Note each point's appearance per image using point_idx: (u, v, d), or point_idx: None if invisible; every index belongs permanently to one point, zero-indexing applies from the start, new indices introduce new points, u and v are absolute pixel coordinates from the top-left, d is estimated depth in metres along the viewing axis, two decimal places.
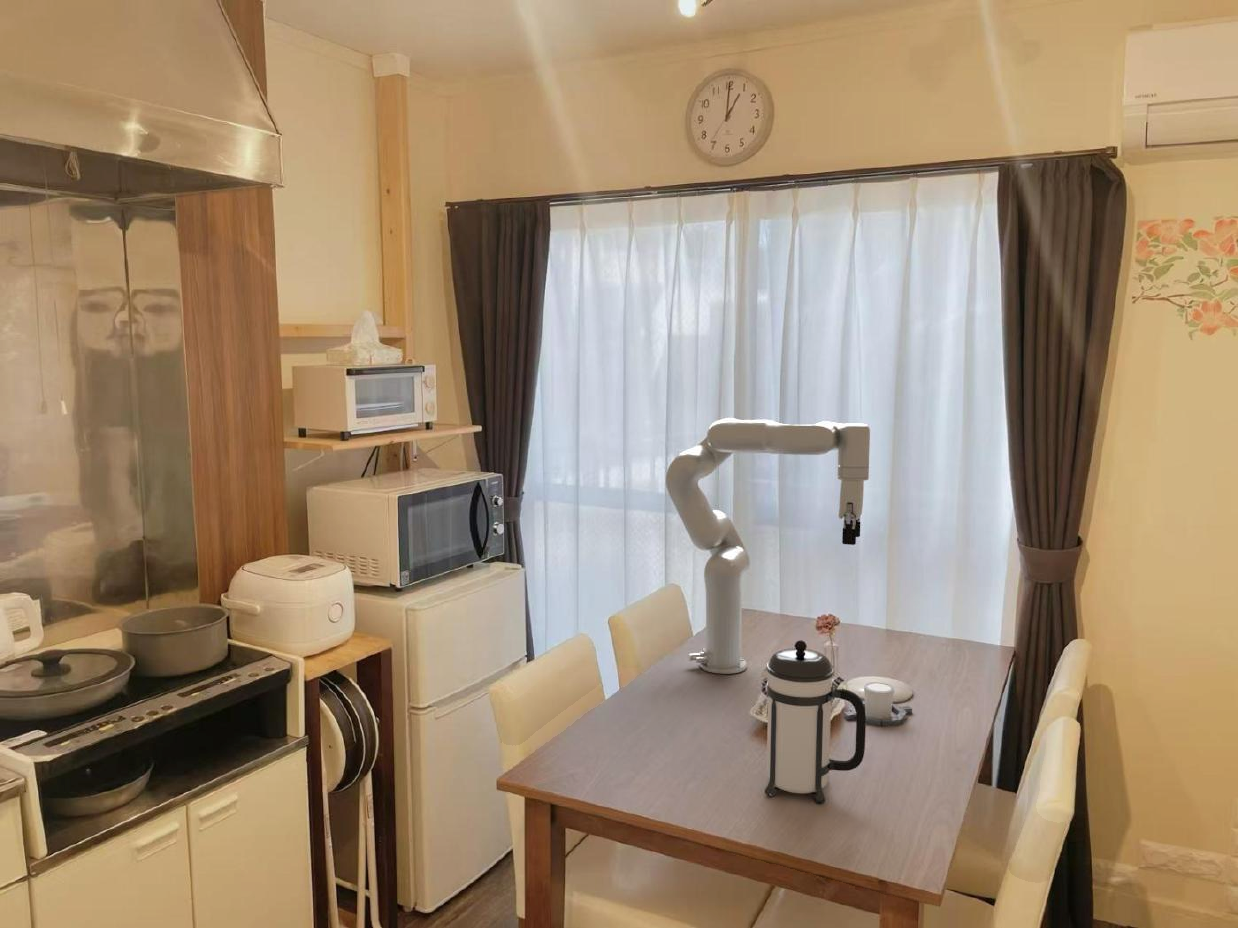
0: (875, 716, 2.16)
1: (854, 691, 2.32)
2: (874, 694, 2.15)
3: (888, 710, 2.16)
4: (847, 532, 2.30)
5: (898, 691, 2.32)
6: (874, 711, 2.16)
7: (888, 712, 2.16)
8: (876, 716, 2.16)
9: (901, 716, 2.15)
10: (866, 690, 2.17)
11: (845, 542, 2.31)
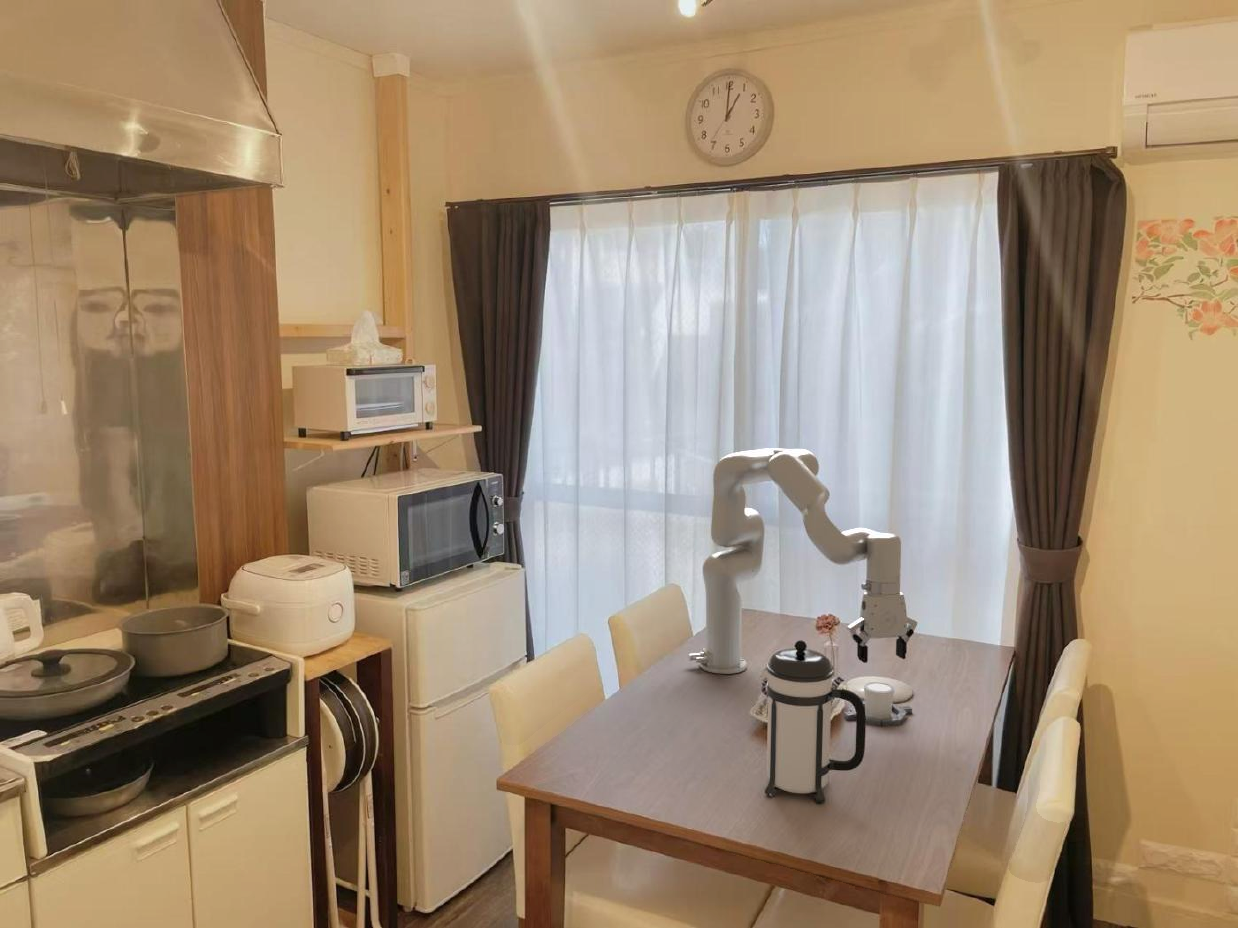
0: (875, 716, 2.16)
1: (854, 691, 2.32)
2: (874, 694, 2.15)
3: (888, 710, 2.16)
4: None
5: (898, 691, 2.32)
6: (874, 711, 2.16)
7: (888, 712, 2.16)
8: (876, 716, 2.16)
9: (901, 716, 2.15)
10: (866, 690, 2.17)
11: None
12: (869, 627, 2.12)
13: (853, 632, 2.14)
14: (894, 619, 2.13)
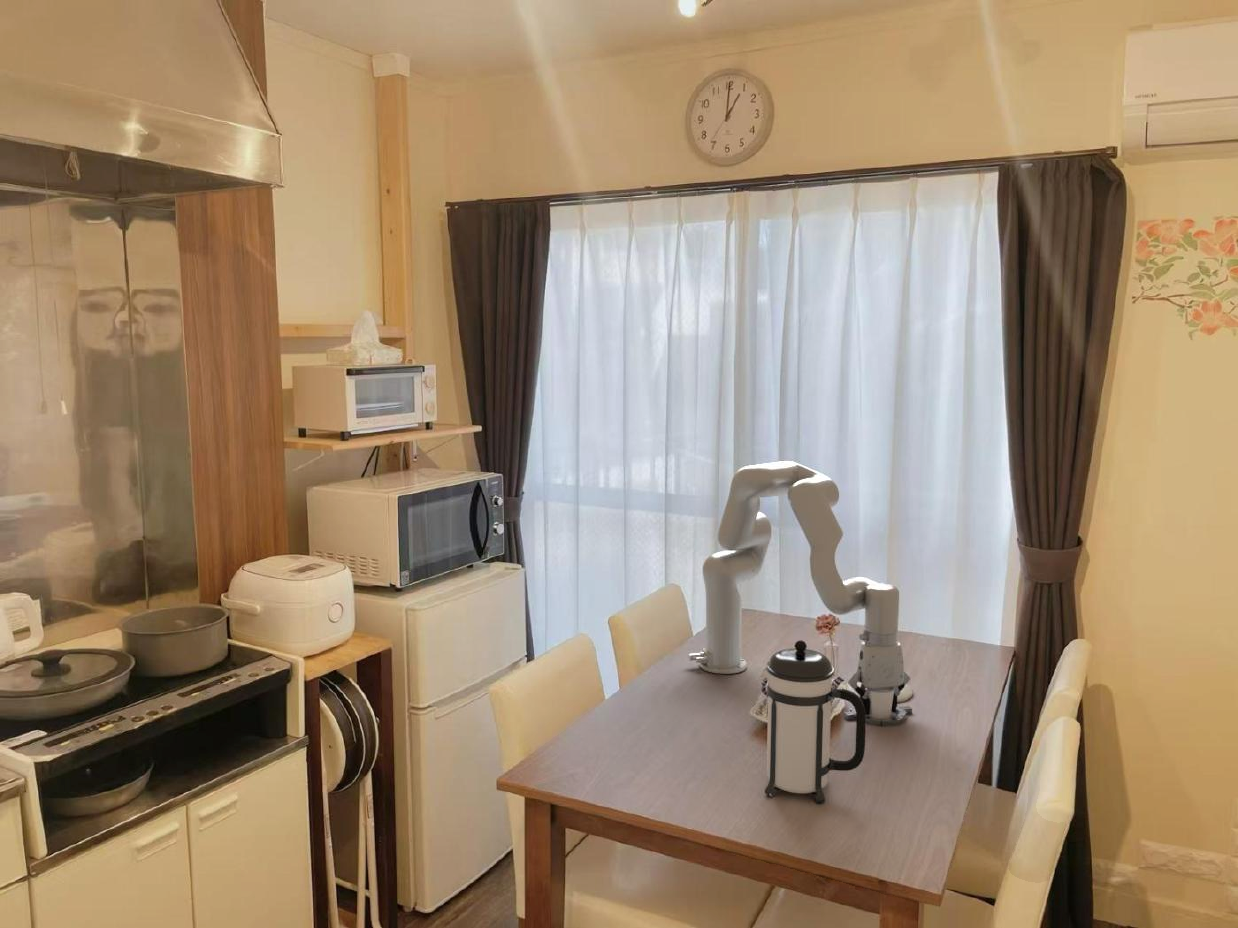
0: (875, 716, 2.16)
1: (854, 691, 2.32)
2: (874, 694, 2.15)
3: (888, 710, 2.16)
4: None
5: None
6: (874, 711, 2.16)
7: (888, 712, 2.16)
8: (876, 716, 2.16)
9: (901, 716, 2.15)
10: None
11: None
12: (866, 677, 2.14)
13: (855, 686, 2.16)
14: (891, 670, 2.15)
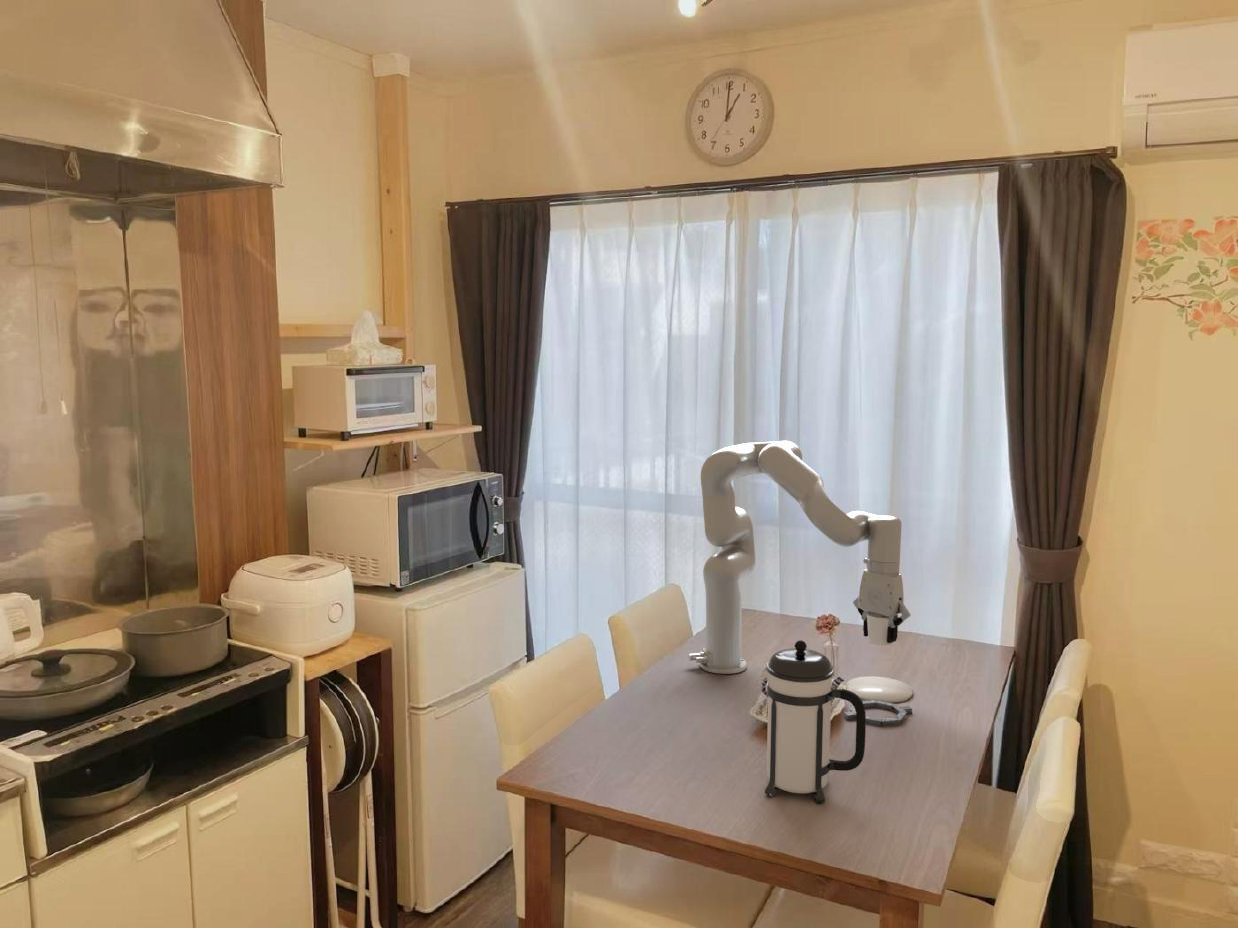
0: (869, 638, 2.28)
1: (854, 691, 2.32)
2: (867, 616, 2.27)
3: (879, 636, 2.25)
4: (895, 630, 2.24)
5: (898, 691, 2.32)
6: (868, 633, 2.28)
7: (879, 638, 2.25)
8: (869, 638, 2.28)
9: (901, 716, 2.15)
10: None
11: (890, 641, 2.25)
12: (859, 598, 2.29)
13: (857, 605, 2.31)
14: (880, 598, 2.24)
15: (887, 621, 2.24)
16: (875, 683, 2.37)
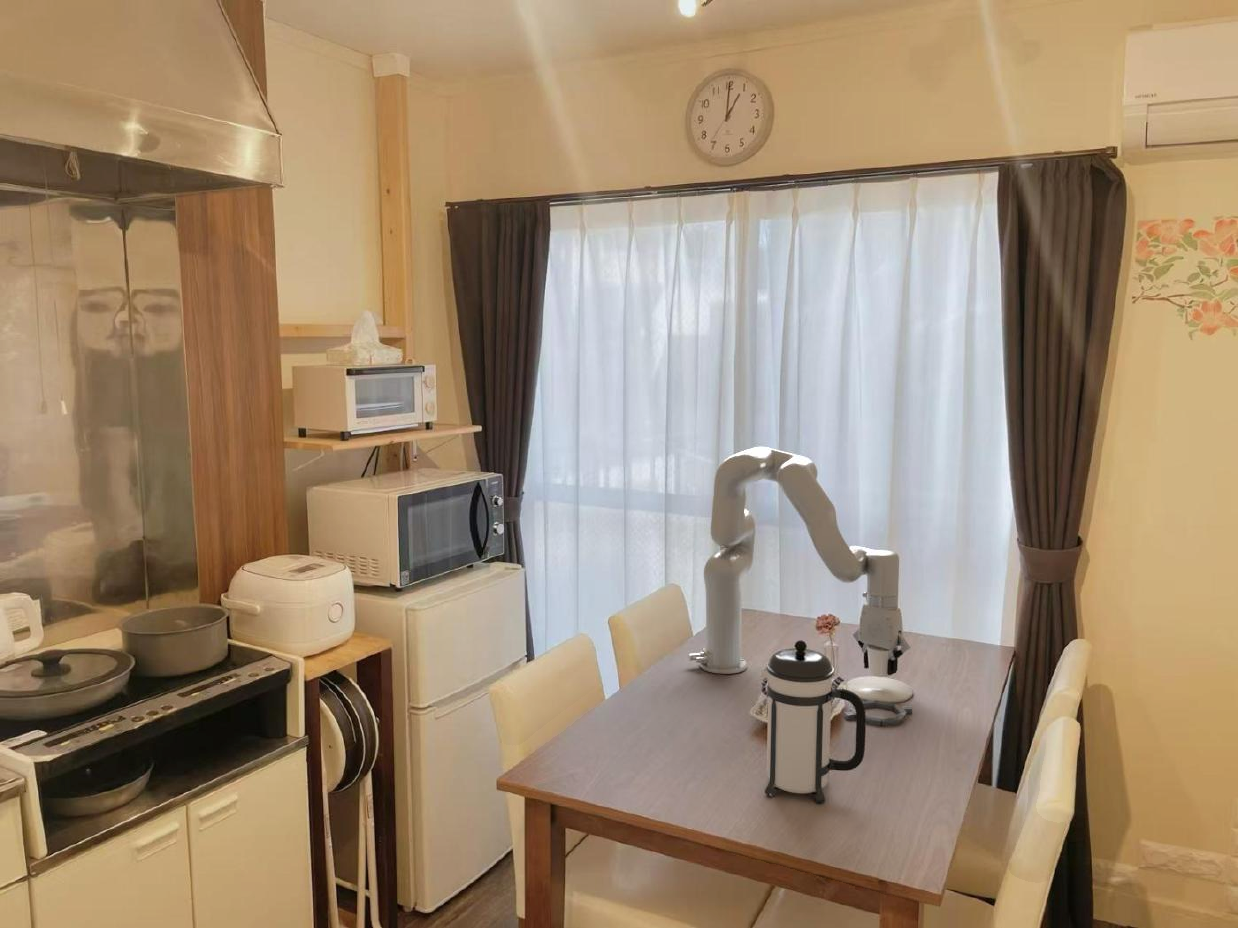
0: (869, 670, 2.33)
1: (854, 691, 2.32)
2: (868, 649, 2.33)
3: (879, 668, 2.31)
4: (895, 662, 2.30)
5: (898, 691, 2.32)
6: (869, 665, 2.33)
7: (880, 670, 2.31)
8: (870, 670, 2.33)
9: (901, 716, 2.15)
10: None
11: (891, 673, 2.30)
12: (859, 631, 2.34)
13: (857, 638, 2.37)
14: (880, 631, 2.29)
15: (887, 653, 2.30)
16: (875, 683, 2.37)
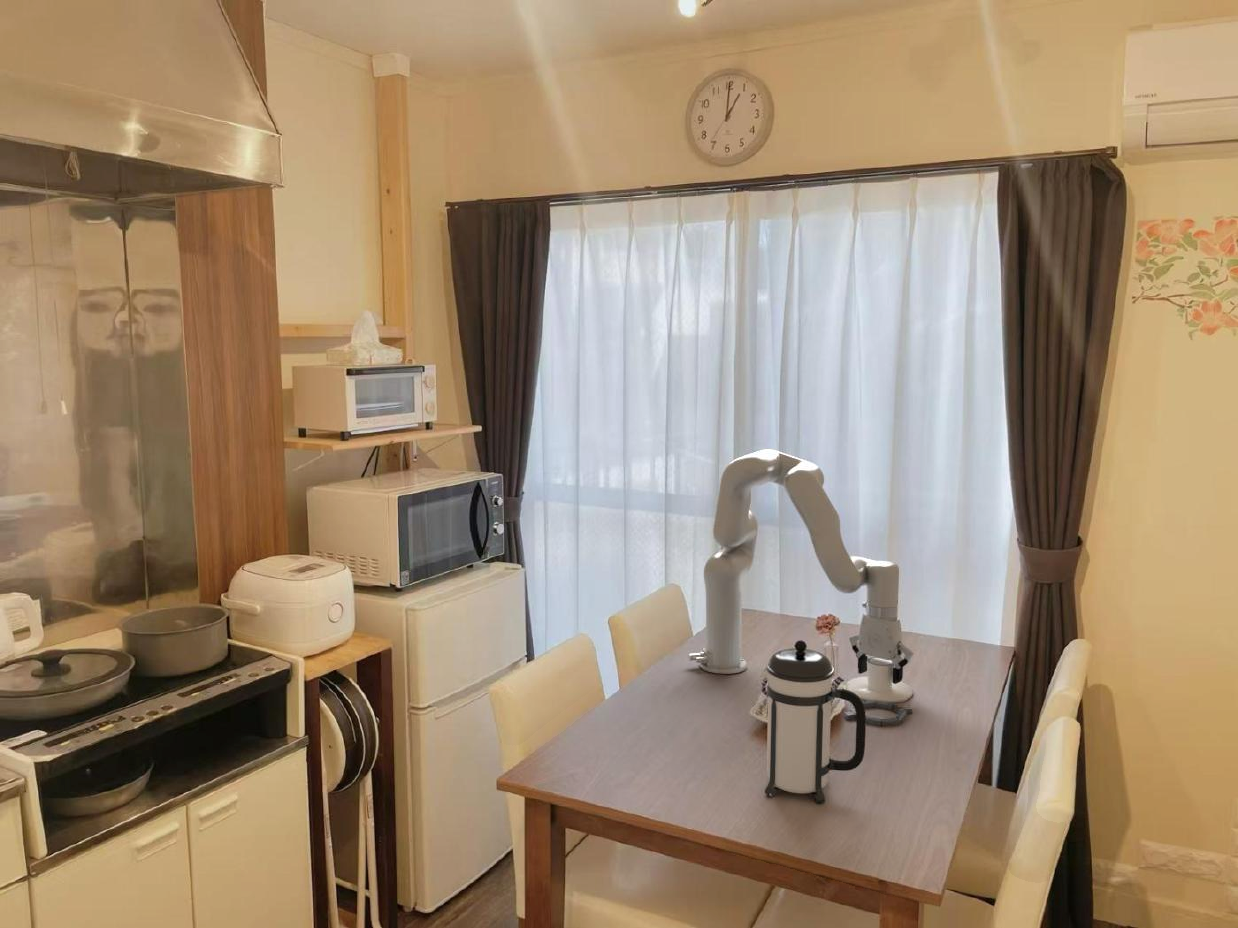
0: (869, 685, 2.33)
1: (854, 691, 2.32)
2: (867, 664, 2.33)
3: (879, 683, 2.31)
4: (900, 671, 2.29)
5: (898, 691, 2.32)
6: (868, 680, 2.34)
7: (879, 685, 2.31)
8: (869, 685, 2.33)
9: (901, 716, 2.15)
10: None
11: (896, 681, 2.29)
12: (858, 641, 2.34)
13: (853, 642, 2.38)
14: (880, 642, 2.29)
15: (887, 669, 2.30)
16: None
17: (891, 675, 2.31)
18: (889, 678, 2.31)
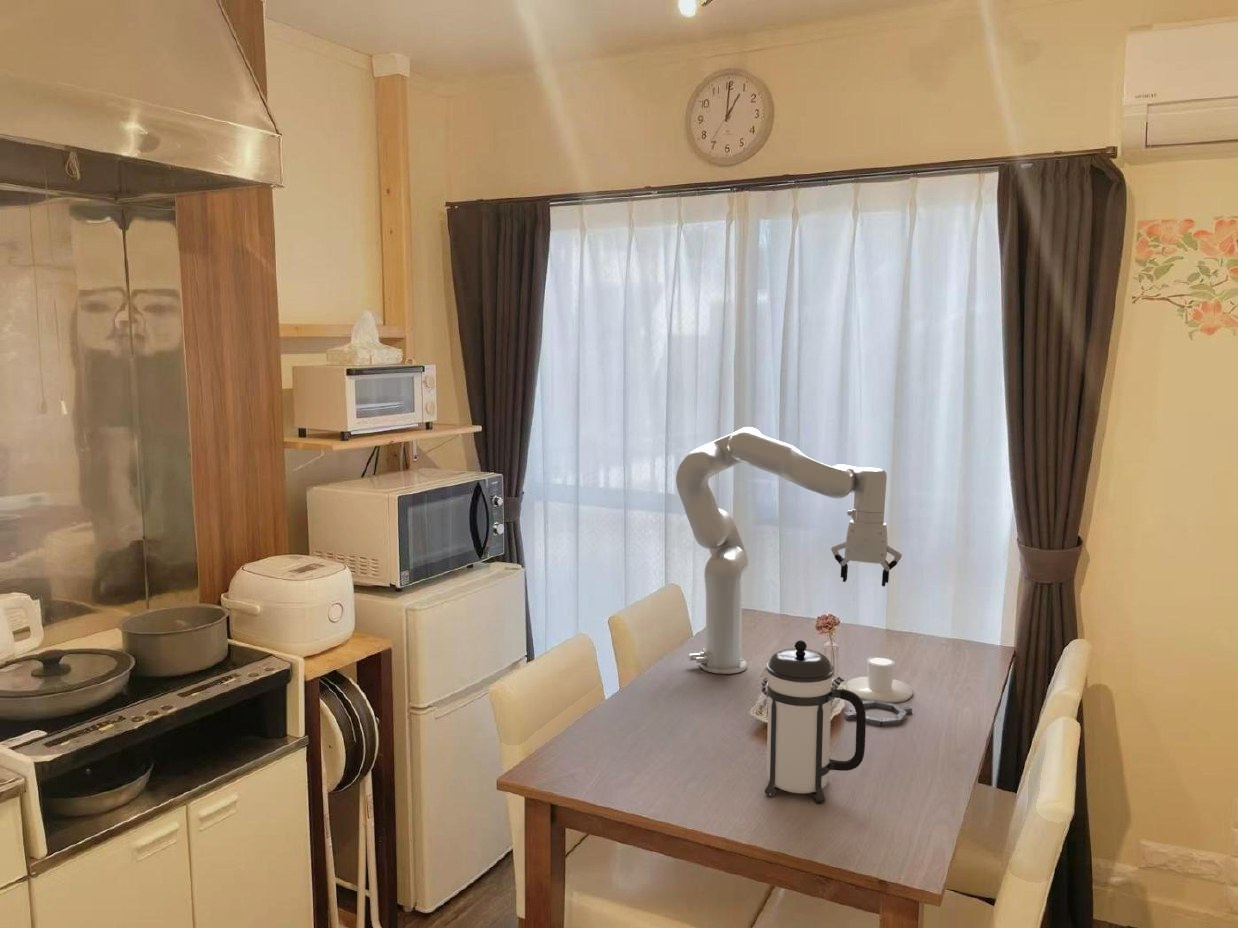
0: (869, 685, 2.33)
1: (854, 691, 2.32)
2: (867, 664, 2.33)
3: (879, 683, 2.31)
4: (888, 573, 2.35)
5: (898, 691, 2.32)
6: (868, 680, 2.34)
7: (879, 685, 2.31)
8: (869, 685, 2.33)
9: (901, 716, 2.15)
10: None
11: (884, 584, 2.35)
12: (846, 549, 2.35)
13: (835, 552, 2.38)
14: (871, 546, 2.33)
15: (887, 669, 2.30)
16: None
17: (891, 675, 2.31)
18: (889, 678, 2.31)
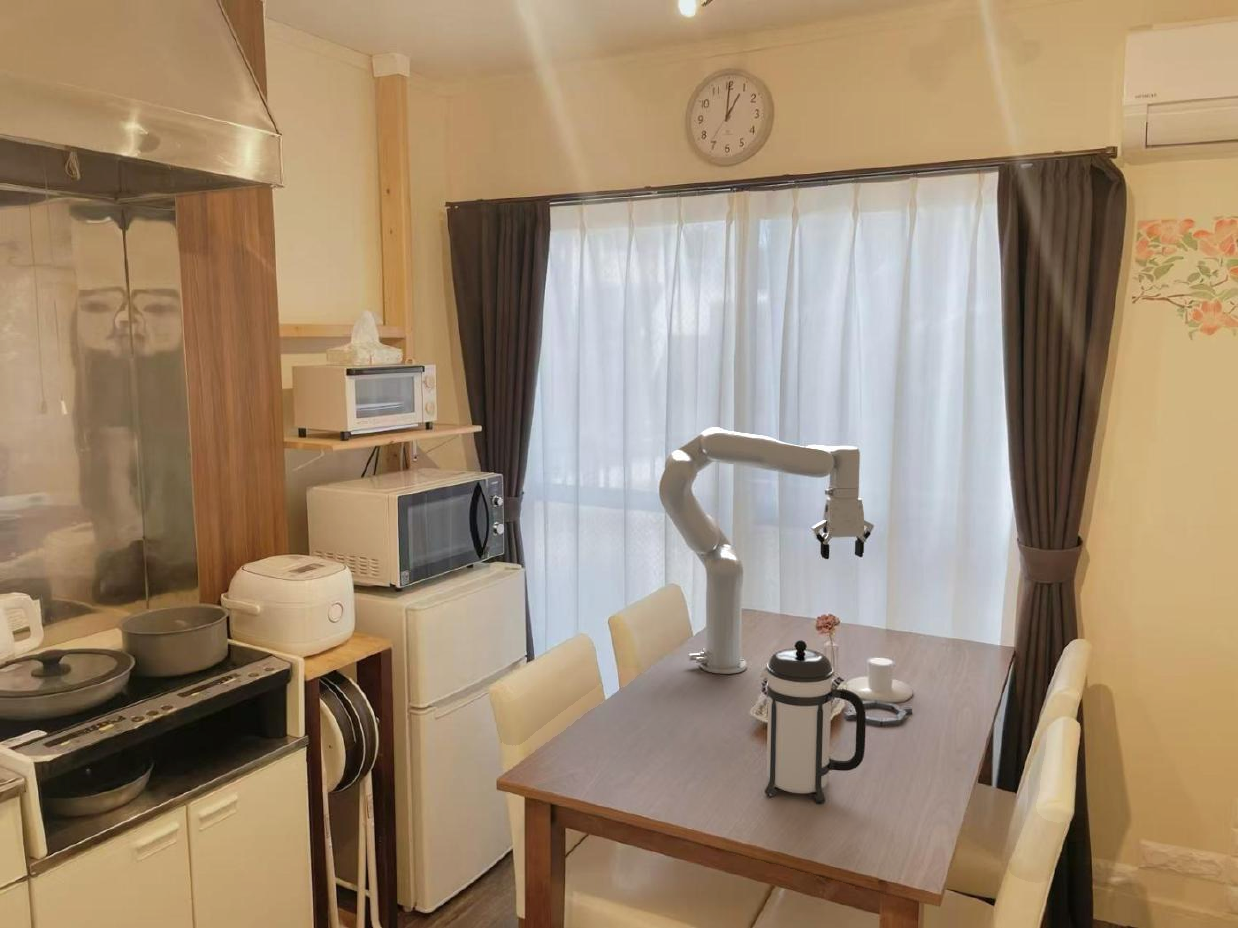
0: (869, 685, 2.33)
1: (854, 691, 2.32)
2: (867, 664, 2.33)
3: (879, 683, 2.31)
4: None
5: (898, 691, 2.32)
6: (868, 680, 2.34)
7: (879, 685, 2.31)
8: (869, 685, 2.33)
9: (901, 716, 2.15)
10: None
11: None
12: (831, 527, 2.42)
13: (817, 532, 2.44)
14: (853, 521, 2.43)
15: (887, 669, 2.30)
16: None
17: (891, 675, 2.31)
18: (889, 678, 2.31)
